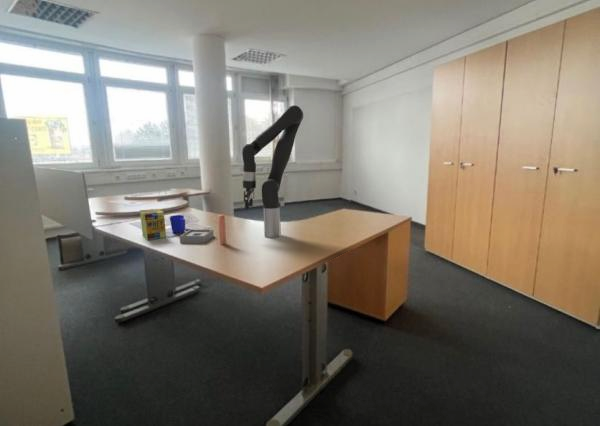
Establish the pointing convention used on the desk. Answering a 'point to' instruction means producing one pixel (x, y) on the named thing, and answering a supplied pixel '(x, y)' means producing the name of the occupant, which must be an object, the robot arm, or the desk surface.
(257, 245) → the desk surface
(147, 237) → the protein box
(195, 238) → the grey square hole base
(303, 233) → the desk surface
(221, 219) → the peg
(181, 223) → the mug
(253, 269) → the desk surface
